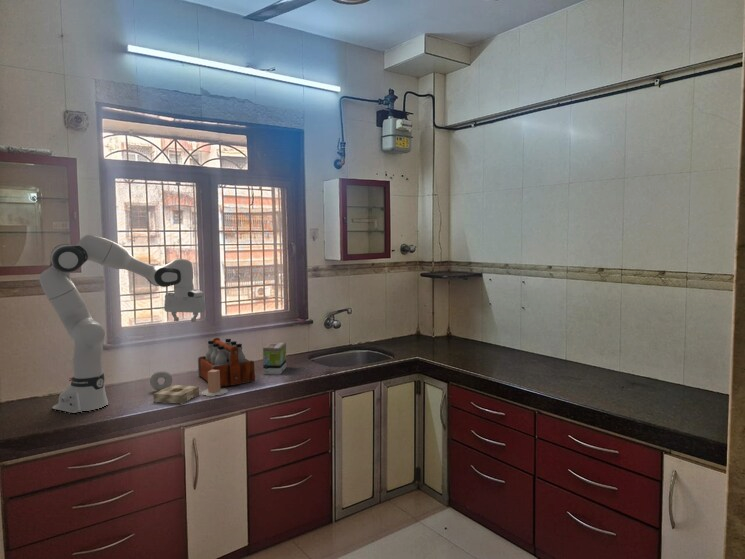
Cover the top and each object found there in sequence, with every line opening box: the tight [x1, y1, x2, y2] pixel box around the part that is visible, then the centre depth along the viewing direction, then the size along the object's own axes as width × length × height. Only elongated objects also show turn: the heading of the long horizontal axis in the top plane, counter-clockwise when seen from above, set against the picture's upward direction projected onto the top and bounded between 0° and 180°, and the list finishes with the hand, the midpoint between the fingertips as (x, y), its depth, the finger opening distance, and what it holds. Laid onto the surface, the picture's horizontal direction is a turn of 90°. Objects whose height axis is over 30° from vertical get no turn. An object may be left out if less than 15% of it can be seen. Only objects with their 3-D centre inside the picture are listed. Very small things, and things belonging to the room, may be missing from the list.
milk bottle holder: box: [197, 337, 256, 388], centre depth 262 cm, size 21×35×19 cm, turn 33°
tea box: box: [262, 342, 287, 375], centre depth 278 cm, size 15×10×15 cm
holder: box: [152, 384, 200, 405], centre depth 231 cm, size 14×14×4 cm
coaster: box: [200, 387, 228, 397], centre depth 240 cm, size 12×12×1 cm
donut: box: [149, 369, 173, 392], centre depth 243 cm, size 10×4×10 cm, turn 108°
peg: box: [207, 370, 221, 393], centre depth 239 cm, size 4×4×10 cm
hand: (185, 321), depth 239 cm, fingers open, 8 cm apart
